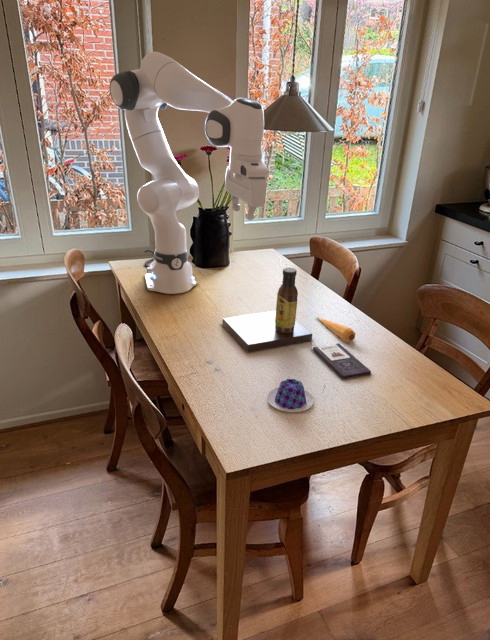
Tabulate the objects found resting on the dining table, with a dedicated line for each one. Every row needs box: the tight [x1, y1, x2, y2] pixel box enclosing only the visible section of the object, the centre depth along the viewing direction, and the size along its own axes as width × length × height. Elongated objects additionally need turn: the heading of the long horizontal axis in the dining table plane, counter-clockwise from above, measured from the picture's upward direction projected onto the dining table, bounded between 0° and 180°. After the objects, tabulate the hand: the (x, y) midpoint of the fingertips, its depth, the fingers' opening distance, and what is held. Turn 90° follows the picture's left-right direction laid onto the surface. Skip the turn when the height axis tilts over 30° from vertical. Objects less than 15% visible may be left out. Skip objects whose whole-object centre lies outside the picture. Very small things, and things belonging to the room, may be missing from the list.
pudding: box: [266, 378, 315, 413], centre depth 135 cm, size 12×12×5 cm
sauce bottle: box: [275, 267, 299, 333], centre depth 162 cm, size 6×6×20 cm
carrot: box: [317, 317, 356, 343], centre depth 174 cm, size 20×4×4 cm, turn 27°
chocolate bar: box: [312, 342, 372, 380], centre depth 156 cm, size 9×1×18 cm
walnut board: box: [222, 309, 313, 353], centre depth 170 cm, size 20×22×2 cm
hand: (242, 214), depth 155 cm, fingers open, 8 cm apart
